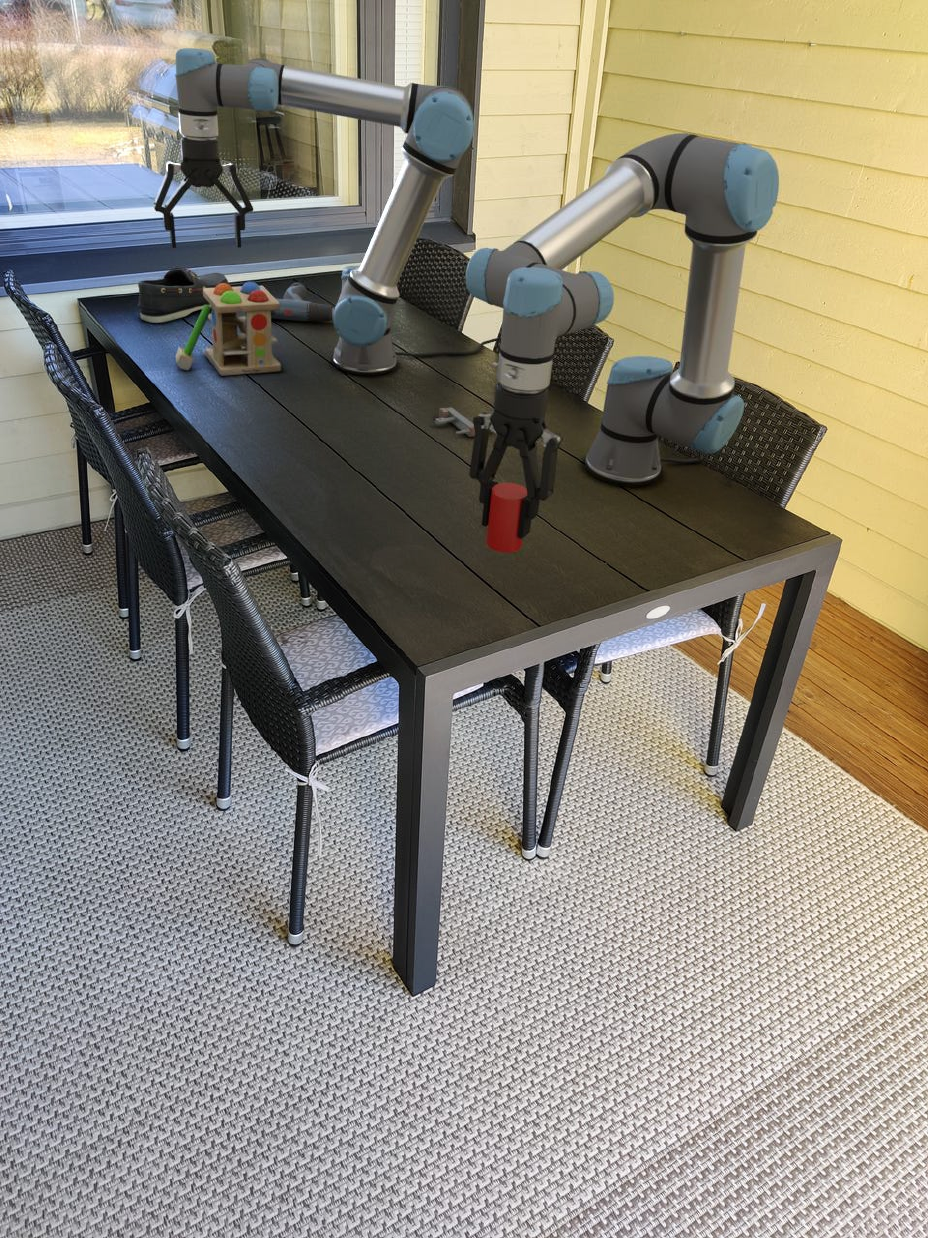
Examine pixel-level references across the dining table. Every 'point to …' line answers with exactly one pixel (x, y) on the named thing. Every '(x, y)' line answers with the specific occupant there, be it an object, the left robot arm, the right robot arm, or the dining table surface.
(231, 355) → the pounding bench toy
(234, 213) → the left robot arm
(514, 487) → the tin
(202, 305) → the boat shoe
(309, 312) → the power drill
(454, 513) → the dining table surface
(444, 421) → the clamp
